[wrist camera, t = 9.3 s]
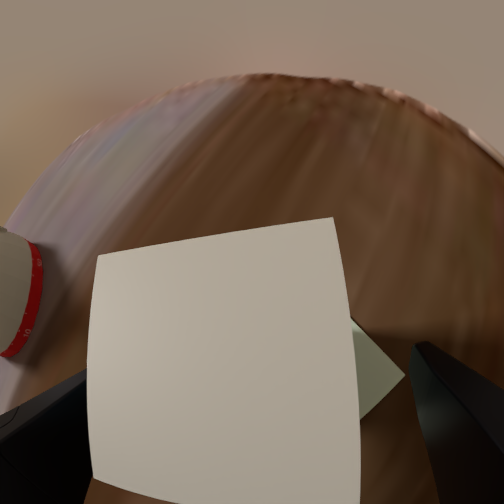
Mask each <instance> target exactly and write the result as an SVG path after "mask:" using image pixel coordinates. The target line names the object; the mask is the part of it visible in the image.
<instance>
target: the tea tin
mask: <svg viewBox="0 0 504 504" xmlns="http://www.w3.org/2000/svg"><path fill="white" fill-rule="evenodd" d="M87 413H88V430H89V443H90V453H91V461H92V469H93V476H94V478H95V479H97V480H100V481H102V482H105V483H108V484H111V485H113V486H116V487H119V488H122V489H125V490H128V491H132V492H135V493H138V494H142V495H145V496H149V497H153V498H157V499H161V500H165V501H170V502H174V503H179V504H360V475H361V454H360V419H359V401H358V386H357V374H356V363H355V353H354V344H353V335H352V327H351V319H350V312H349V305H348V298H347V291H346V285H345V279H344V273H343V267H342V261H341V256H340V250H339V245H338V240H337V235H336V230H335V225H334V220H333V217H331V218H324V219H317V220H310V221H303V222H296V223H289V224H282V225H276V226H269V227H263V228H256V229H250V230H243V231H237V232H231V233H224V234H218V235H212V236H206V237H200V238H194V239H188V240H182V241H176V242H170V243H165V244H159V245H153V246H148V247H142V248H136V249H131V250H125V251H120V252H114V253H109V254H104V255H98V260H97V266H96V272H95V279H94V286H93V294H92V303H91V312H90V323H89V336H88V354H87Z"/></svg>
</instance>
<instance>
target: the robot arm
mask: <svg viewBox="0 0 504 504" xmlns="http://www.w3.org/2000/svg"><path fill="white" fill-rule="evenodd" d="M409 376H410V380H411V385H412V389H413V394H414V399H415V404H416V409H417V414H418V419H419V423H420V427H421V430H422V433H423V437H424V440H425V444H426V447H427V451H428V455H429V458H430V462H431V466H432V470H433V474H434V479H435V483H436V487H437V492H438V497H439V502H440V504H504V390H503V389H501V388H500V387H498V386H497V385H495V384H494V383H492V382H491V381H489V380H488V379H486V378H485V377H483V376H482V375H480V374H479V373H477V372H475V371H474V370H472V369H471V368H469V367H468V366H466V365H465V364H463V363H462V362H460V361H458V360H457V359H455V358H454V357H452V356H451V355H449V354H448V353H446V352H444V351H443V350H441V349H440V348H438V347H437V346H435V345H433V344H432V343H430V342H429V341H423V342H418V343H415V344H414V345H413V346H412V351H411V357H410V362H409ZM92 475H93V469H92V461H91V453H90V443H89V430H88V413H87V368H86V369H84V370H83V371H81V372H79V373H77V374H75V375H74V376H72V377H70V378H68V379H67V380H65V381H63V382H61V383H59V384H58V385H56V386H54V387H52V388H50V389H49V390H47V391H45V392H43V393H41V394H40V395H38V396H36V397H34V398H32V399H30V400H29V401H27V402H25V403H23V404H21V405H20V406H18V407H16V408H14V409H12V410H10V411H8V412H6V413H4V414H2V415H0V504H84V500H85V497H86V494H87V491H88V488H89V484H90V481H91V478H92Z"/></svg>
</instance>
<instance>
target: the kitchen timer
mask: <svg viewBox="0 0 504 504" xmlns="http://www.w3.org/2000/svg"><path fill="white" fill-rule="evenodd" d="M42 281H43V267H42V259H41V255H40V253H39V251H38V248H37V247H36V246H34V245H33V244H32V243H30V242H29V241H27V240H26V239H24V238H23V237H21V236H19V235H17V234H14V233H11V232H7V229H6V228H3V227H1V226H0V356H3V357H12V356H13V355H15V354H16V353H18V352H19V351H20V349H21V348H22V347H23V345H24V344H25V343H26V341H27V339H28V337H29V335H30V332H31V330H32V328H33V326H34V322H35V319H36V316H37V312H38V309H39V304H40V298H41V293H42Z"/></svg>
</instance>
